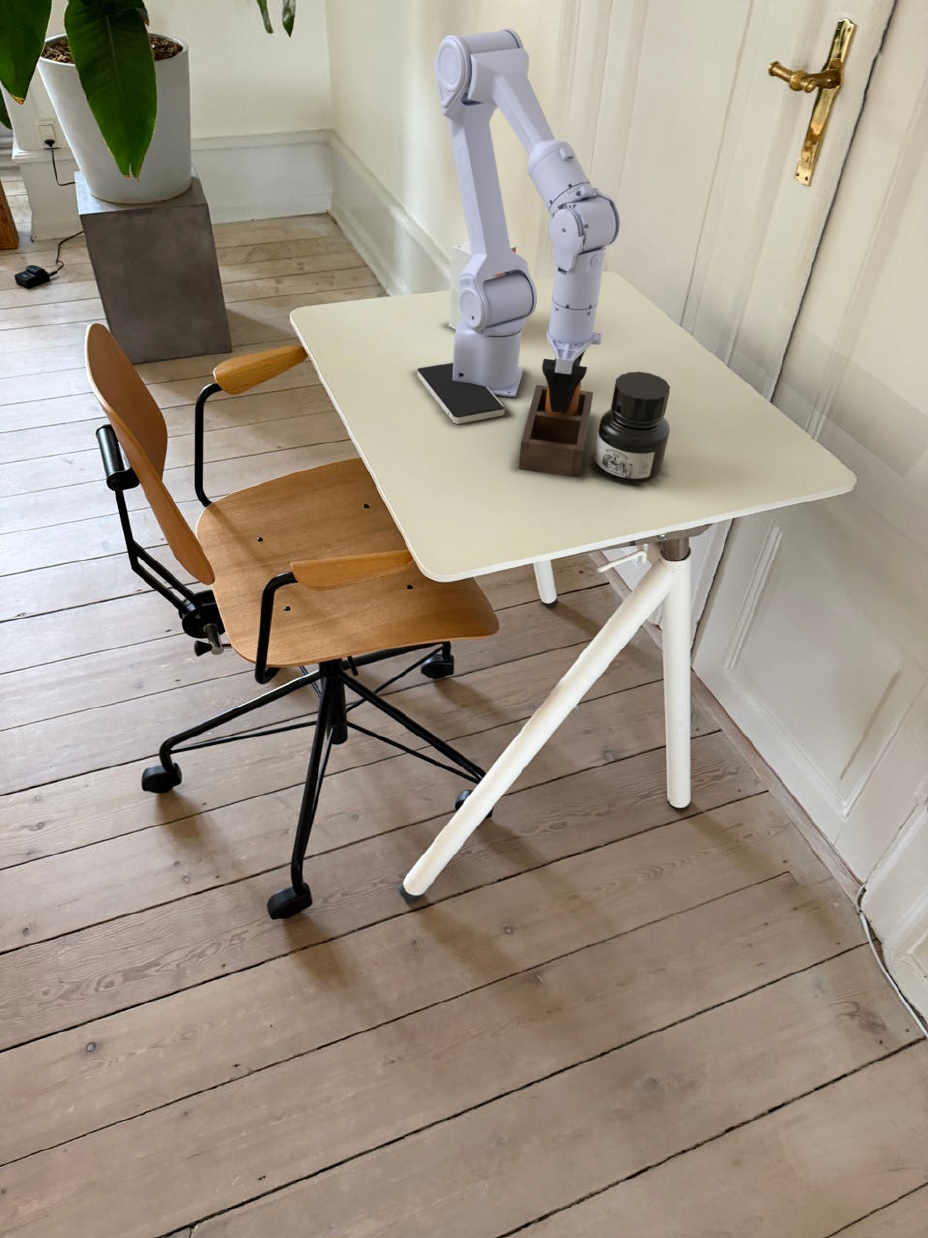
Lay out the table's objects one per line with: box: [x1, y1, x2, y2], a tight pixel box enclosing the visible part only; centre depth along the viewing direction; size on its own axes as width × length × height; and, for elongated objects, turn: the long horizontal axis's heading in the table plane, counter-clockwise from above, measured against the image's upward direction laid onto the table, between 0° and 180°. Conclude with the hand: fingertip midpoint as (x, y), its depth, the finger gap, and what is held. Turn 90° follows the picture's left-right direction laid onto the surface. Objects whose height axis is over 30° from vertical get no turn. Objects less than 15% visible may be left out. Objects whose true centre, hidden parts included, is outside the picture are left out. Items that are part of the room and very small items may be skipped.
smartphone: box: [417, 362, 506, 425], centre depth 134 cm, size 8×1×15 cm
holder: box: [518, 384, 594, 478], centre depth 125 cm, size 8×15×4 cm, turn 169°
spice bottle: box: [545, 357, 582, 416], centre depth 125 cm, size 4×4×10 cm
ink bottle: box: [593, 371, 671, 485], centre depth 118 cm, size 10×9×12 cm
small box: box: [448, 240, 517, 331], centre depth 146 cm, size 8×6×13 cm
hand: (562, 396), depth 125 cm, fingers open, 7 cm apart
